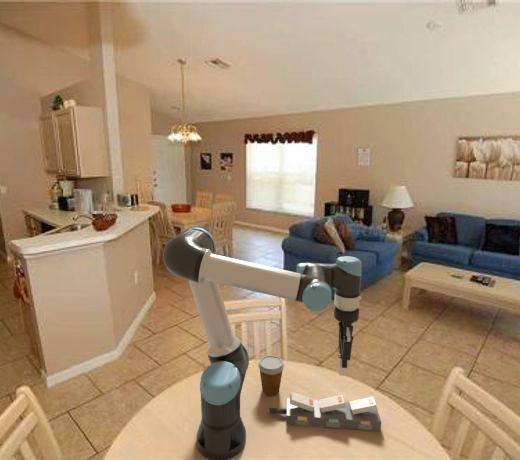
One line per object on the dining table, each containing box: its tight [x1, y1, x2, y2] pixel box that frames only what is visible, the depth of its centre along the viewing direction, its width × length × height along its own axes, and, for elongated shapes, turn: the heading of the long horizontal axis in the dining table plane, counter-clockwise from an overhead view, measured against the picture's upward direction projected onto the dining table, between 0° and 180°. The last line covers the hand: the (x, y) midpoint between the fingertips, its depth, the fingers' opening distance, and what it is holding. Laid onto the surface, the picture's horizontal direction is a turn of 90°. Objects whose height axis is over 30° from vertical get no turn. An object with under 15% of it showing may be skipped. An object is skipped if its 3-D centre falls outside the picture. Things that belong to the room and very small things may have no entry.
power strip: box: [268, 397, 382, 432], centre depth 114 cm, size 36×8×5 cm, turn 85°
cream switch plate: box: [318, 394, 346, 413], centre depth 113 cm, size 8×4×2 cm, turn 85°
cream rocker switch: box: [349, 396, 378, 415], centre depth 113 cm, size 8×4×2 cm, turn 85°
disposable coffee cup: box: [257, 355, 285, 397], centre depth 127 cm, size 10×10×12 cm
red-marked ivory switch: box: [289, 391, 315, 412], centre depth 114 cm, size 8×4×2 cm, turn 86°
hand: (343, 374), depth 111 cm, fingers closed
